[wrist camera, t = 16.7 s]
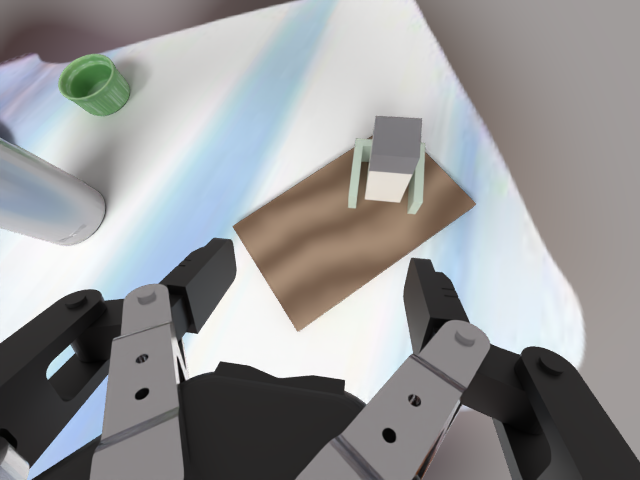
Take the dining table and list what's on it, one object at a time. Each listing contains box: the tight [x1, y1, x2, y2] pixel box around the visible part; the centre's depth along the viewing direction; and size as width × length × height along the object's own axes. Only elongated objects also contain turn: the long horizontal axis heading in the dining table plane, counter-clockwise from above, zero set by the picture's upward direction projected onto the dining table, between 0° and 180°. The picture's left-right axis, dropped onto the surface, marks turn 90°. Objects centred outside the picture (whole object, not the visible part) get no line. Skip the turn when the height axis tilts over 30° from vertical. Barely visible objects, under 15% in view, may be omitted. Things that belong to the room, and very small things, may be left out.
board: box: [233, 135, 476, 332], centre depth 36 cm, size 16×27×1 cm, turn 124°
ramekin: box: [58, 54, 130, 116], centre depth 45 cm, size 9×9×4 cm
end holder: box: [348, 138, 425, 214], centre depth 35 cm, size 8×8×4 cm
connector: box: [365, 116, 422, 203], centre depth 32 cm, size 4×4×10 cm
